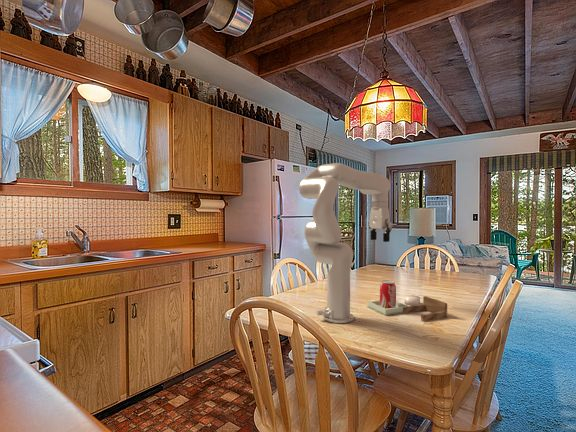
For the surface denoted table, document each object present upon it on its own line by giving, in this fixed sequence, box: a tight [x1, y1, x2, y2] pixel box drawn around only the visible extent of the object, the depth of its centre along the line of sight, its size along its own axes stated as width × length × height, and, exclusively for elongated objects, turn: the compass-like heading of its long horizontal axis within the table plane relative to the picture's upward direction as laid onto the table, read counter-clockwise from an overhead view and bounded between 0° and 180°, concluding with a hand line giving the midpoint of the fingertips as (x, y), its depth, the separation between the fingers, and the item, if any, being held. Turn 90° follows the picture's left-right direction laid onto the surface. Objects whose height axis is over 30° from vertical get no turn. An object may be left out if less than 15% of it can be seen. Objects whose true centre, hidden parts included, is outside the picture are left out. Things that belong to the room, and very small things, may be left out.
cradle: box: [402, 295, 448, 322], centre depth 142 cm, size 13×12×6 cm
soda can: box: [379, 279, 397, 309], centre depth 149 cm, size 7×7×12 cm
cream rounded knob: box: [404, 294, 421, 306], centre depth 159 cm, size 7×7×4 cm
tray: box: [366, 299, 410, 317], centre depth 149 cm, size 13×13×3 cm
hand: (379, 240), depth 159 cm, fingers open, 9 cm apart
